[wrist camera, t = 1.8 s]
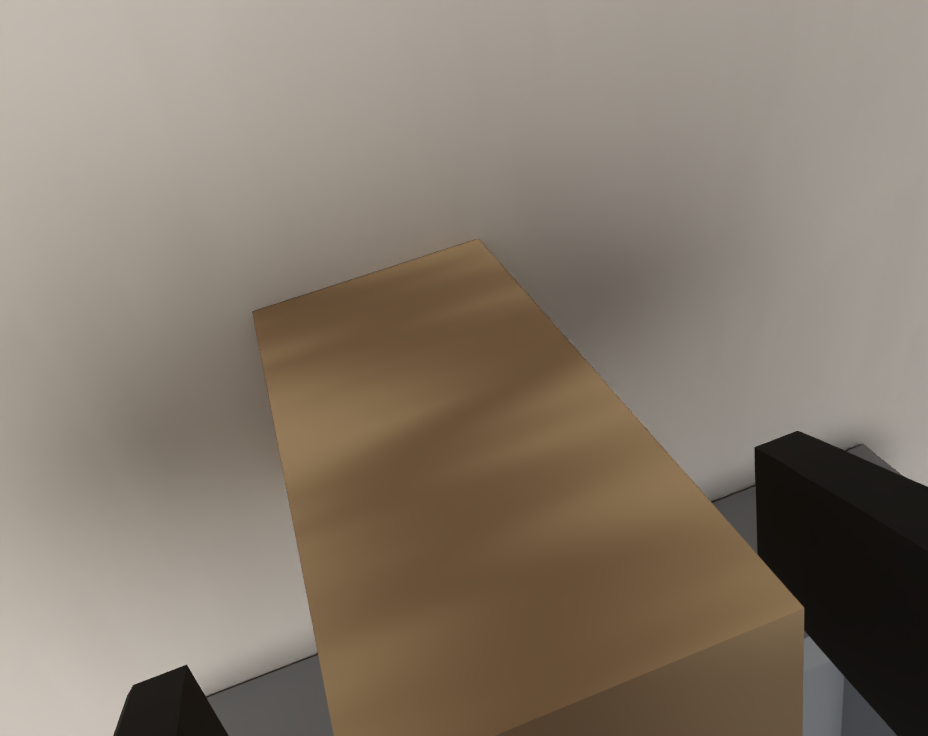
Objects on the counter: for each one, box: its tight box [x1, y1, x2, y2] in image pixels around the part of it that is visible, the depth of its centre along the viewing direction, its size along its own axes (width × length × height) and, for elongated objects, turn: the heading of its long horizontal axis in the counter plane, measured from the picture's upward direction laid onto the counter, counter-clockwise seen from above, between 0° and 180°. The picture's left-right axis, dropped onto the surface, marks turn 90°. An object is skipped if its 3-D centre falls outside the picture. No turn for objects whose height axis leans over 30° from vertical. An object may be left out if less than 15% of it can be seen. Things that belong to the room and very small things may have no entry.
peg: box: [253, 239, 804, 736], centre depth 12 cm, size 4×4×9 cm
